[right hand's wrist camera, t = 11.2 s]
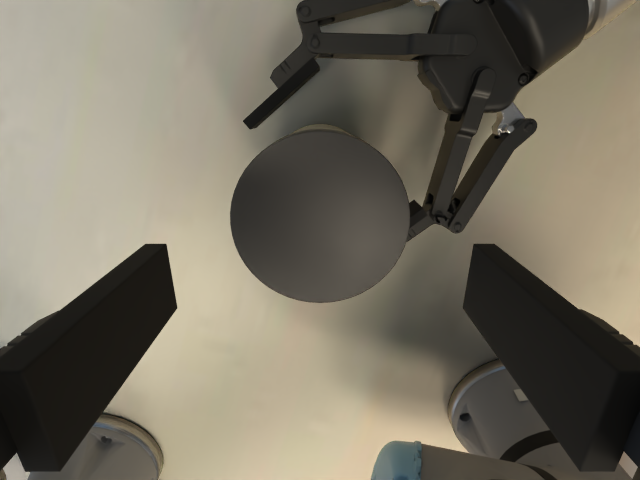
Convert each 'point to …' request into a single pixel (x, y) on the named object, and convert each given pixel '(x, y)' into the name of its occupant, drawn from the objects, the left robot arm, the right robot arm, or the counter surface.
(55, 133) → the counter surface
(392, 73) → the counter surface
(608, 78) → the counter surface
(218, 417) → the counter surface
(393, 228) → the lid
